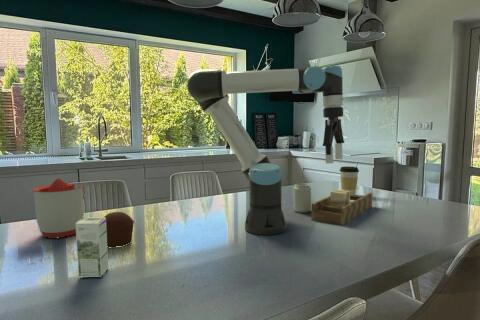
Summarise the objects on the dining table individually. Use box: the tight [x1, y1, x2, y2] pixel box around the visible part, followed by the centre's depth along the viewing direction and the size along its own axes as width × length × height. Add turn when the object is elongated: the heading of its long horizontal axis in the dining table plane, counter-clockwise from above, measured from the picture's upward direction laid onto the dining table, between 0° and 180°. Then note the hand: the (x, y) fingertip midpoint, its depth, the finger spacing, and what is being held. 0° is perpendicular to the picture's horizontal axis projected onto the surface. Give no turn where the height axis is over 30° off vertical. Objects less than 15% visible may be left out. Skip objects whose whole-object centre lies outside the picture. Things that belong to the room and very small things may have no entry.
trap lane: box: [311, 190, 373, 226], centre depth 146 cm, size 36×13×6 cm, turn 143°
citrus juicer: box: [32, 178, 88, 239], centre depth 122 cm, size 16×17×20 cm
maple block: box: [330, 189, 350, 208], centre depth 142 cm, size 6×6×6 cm
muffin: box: [103, 211, 135, 247], centre depth 111 cm, size 12×11×10 cm
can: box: [293, 182, 312, 214], centre depth 150 cm, size 8×8×12 cm
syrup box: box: [75, 216, 110, 277], centre depth 88 cm, size 6×6×14 cm
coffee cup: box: [339, 166, 360, 196], centre depth 181 cm, size 10×10×15 cm
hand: (334, 161), depth 135 cm, fingers open, 13 cm apart
